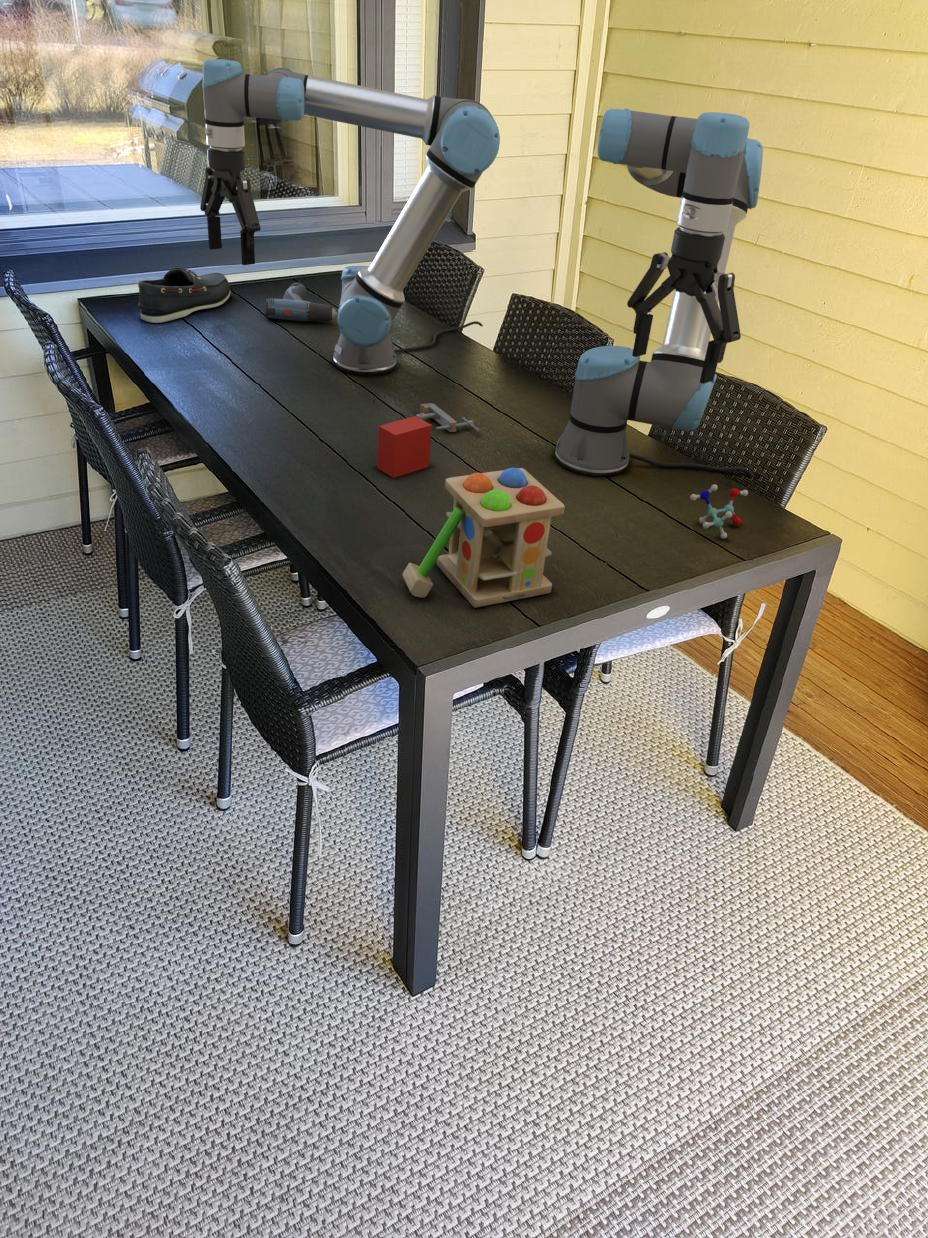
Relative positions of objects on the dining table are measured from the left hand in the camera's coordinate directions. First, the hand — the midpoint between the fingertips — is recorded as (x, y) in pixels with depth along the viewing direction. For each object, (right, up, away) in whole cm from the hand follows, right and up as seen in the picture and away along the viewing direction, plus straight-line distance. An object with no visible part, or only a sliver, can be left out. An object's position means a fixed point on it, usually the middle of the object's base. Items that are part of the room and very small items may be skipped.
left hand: (231, 256), depth 210 cm
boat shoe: (-25, +6, +53) cm, 59 cm away
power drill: (+7, +6, +57) cm, 58 cm away
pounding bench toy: (+51, -72, -50) cm, 101 cm away
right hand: (+83, -37, -52) cm, 105 cm away
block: (+38, -48, -17) cm, 63 cm away
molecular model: (+96, -60, -26) cm, 117 cm away
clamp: (+45, -36, +2) cm, 58 cm away
